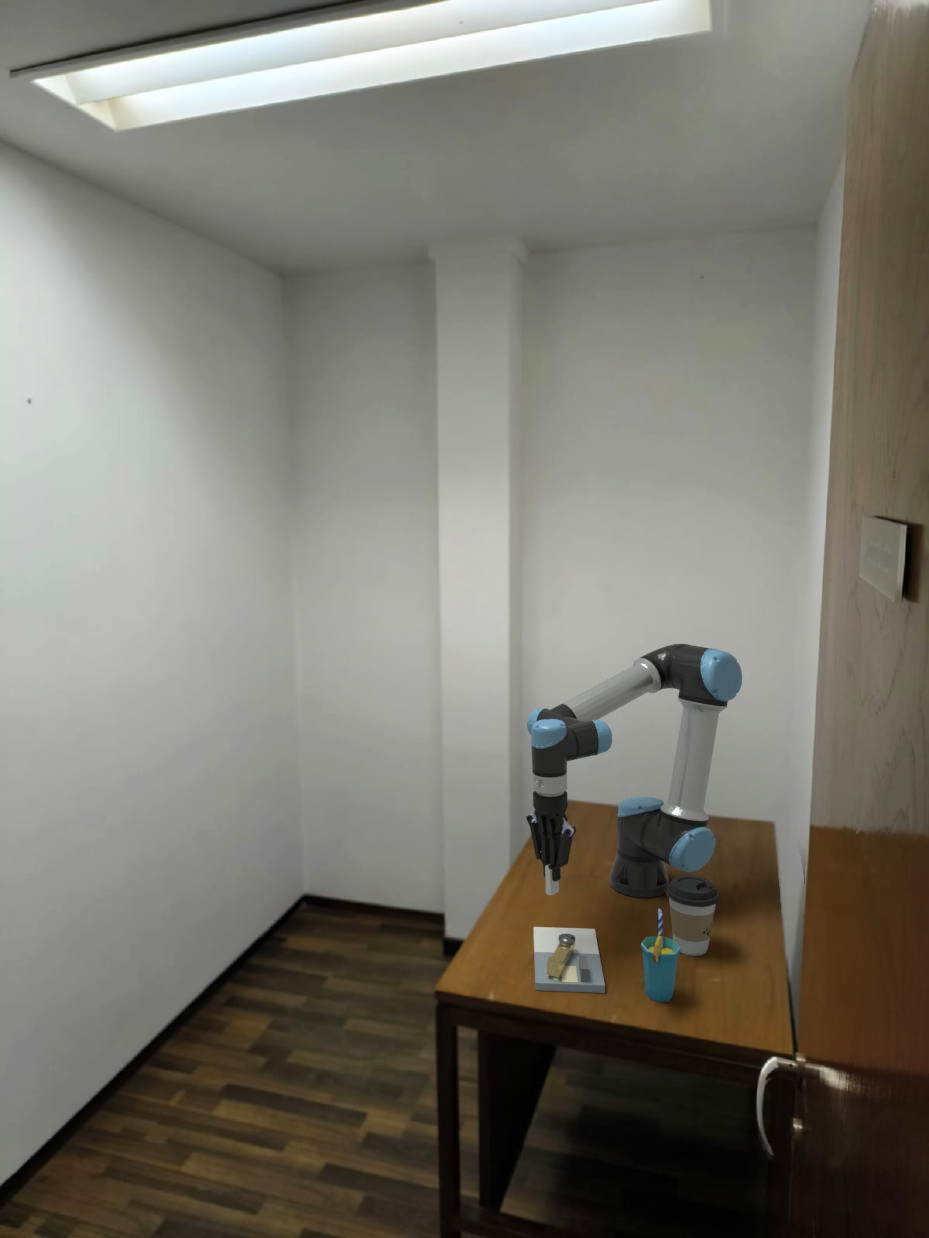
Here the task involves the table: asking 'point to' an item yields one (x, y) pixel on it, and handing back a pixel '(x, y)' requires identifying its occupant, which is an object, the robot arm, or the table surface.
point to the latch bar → (560, 955)
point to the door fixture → (580, 966)
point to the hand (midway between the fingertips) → (552, 892)
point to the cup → (660, 964)
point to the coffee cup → (692, 912)
